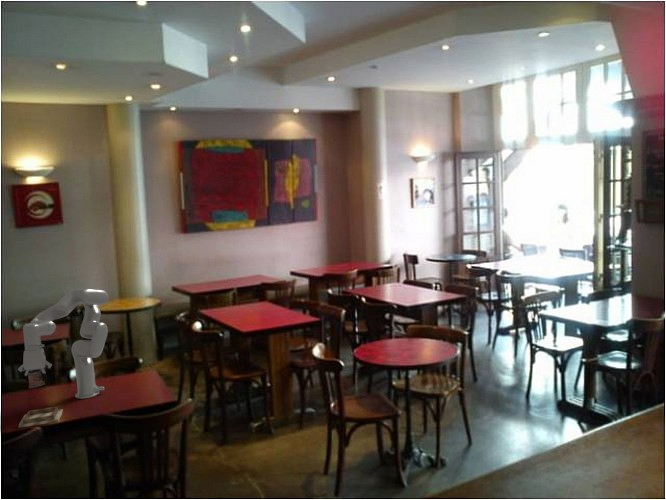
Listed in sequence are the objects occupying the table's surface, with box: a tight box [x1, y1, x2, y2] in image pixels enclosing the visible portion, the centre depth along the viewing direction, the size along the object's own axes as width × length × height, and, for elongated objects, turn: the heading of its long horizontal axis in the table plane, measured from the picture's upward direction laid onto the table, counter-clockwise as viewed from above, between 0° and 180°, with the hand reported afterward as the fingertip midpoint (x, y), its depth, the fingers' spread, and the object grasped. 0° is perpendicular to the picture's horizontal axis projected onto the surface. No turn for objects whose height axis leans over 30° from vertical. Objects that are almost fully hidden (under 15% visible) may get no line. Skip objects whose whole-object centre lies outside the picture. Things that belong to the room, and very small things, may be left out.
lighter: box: [28, 369, 46, 389], centre depth 312 cm, size 8×3×10 cm, turn 146°
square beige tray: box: [18, 406, 64, 429], centre depth 308 cm, size 18×16×3 cm
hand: (36, 381), depth 312 cm, fingers closed on lighter, 6 cm apart
